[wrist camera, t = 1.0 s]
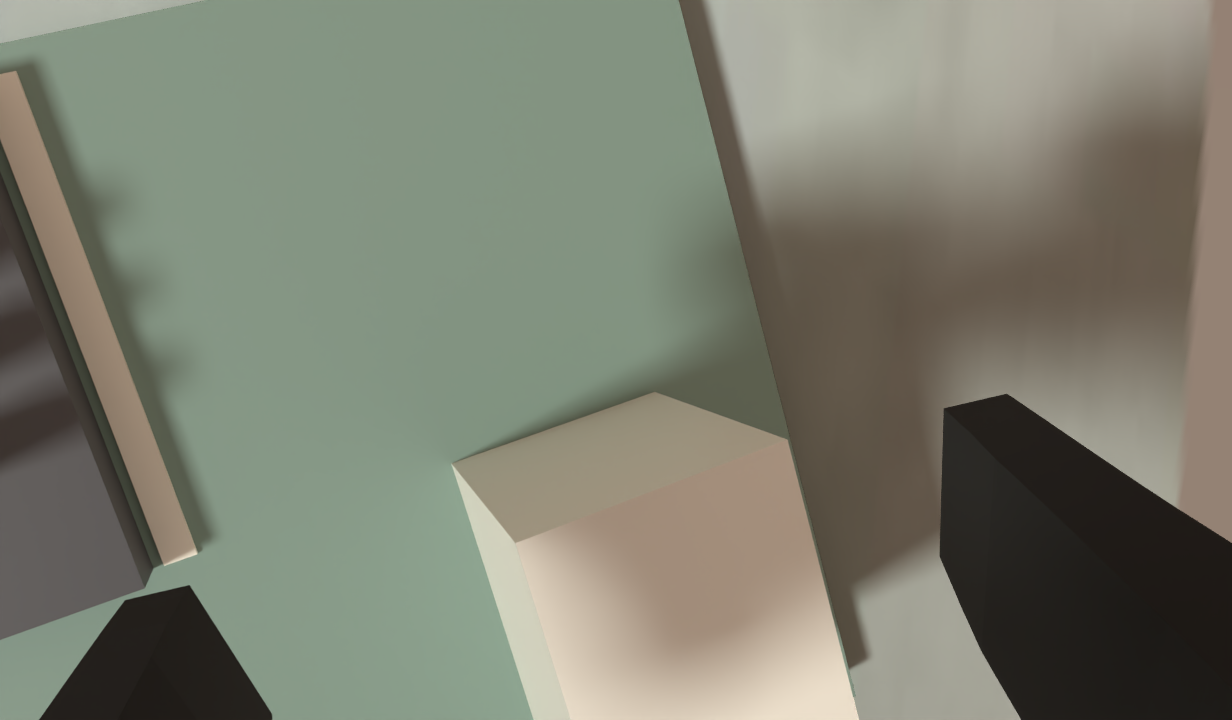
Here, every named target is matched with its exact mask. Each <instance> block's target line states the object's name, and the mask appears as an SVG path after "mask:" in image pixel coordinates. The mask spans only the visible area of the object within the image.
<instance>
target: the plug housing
mask: <svg viewBox="0 0 1232 720" xmlns="http://www.w3.org/2000/svg"><path fill="white" fill-rule="evenodd" d="M451 464H452V467H453V470H454V473H455V476H456V480H457V483H458V486H459V489H460V492H461V495H462V498H463V501H464V504H465V508H466V511H467V514H468V517H469V520H470V523H471V526H472V529H473V533H474V536H475V539H476V542H477V545H478V548H479V551H480V554H481V557H482V561H483V564H484V567H485V570H486V573H487V576H488V579H489V582H490V585H491V589H492V592H493V595H494V598H495V601H496V604H497V607H498V610H499V613H500V617H501V620H502V623H503V626H504V629H505V632H506V635H507V638H508V642H509V645H510V648H511V651H512V654H513V657H514V660H515V663H516V666H517V670H518V673H519V676H520V679H521V682H522V685H523V688H524V691H525V694H526V698H527V701H528V704H529V707H530V710H531V713H532V716H533V719H534V720H859V718H858V714H857V710H856V706H855V702H854V698H853V695H852V691H851V687H850V683H849V679H848V675H847V671H846V667H845V663H844V659H843V655H842V651H841V647H840V644H839V640H838V636H837V632H836V628H835V624H834V620H833V616H832V612H831V608H830V604H829V600H828V596H827V593H826V589H825V585H824V581H823V577H822V573H821V569H820V565H819V561H818V557H817V553H816V549H815V546H814V542H813V538H812V534H811V530H810V526H809V522H808V518H807V514H806V510H805V506H804V502H803V498H802V495H801V491H800V487H799V483H798V479H797V475H796V471H795V467H794V463H793V459H792V455H791V451H790V447H789V444H788V440H787V439H785V438H782V437H779V436H776V435H773V434H771V433H768V432H765V431H762V430H760V429H757V428H754V427H751V426H748V425H746V424H743V423H740V422H737V421H735V420H732V419H729V418H726V417H723V416H721V415H718V414H715V413H712V412H709V411H707V410H704V409H701V408H698V407H696V406H693V405H690V404H687V403H684V402H682V401H679V400H676V399H673V398H671V397H668V396H665V395H662V394H659V393H657V392H653V393H650V394H647V395H644V396H641V397H639V398H636V399H633V400H630V401H627V402H624V403H622V404H619V405H616V406H613V407H610V408H607V409H605V410H602V411H599V412H596V413H593V414H590V415H587V416H585V417H582V418H579V419H576V420H573V421H570V422H568V423H565V424H562V425H559V426H556V427H553V428H551V429H548V430H545V431H542V432H539V433H536V434H534V435H531V436H528V437H525V438H522V439H519V440H517V441H514V442H511V443H508V444H505V445H502V446H500V447H497V448H494V449H491V450H488V451H485V452H482V453H480V454H477V455H474V456H471V457H468V458H465V459H463V460H460V461H457V462H454V463H451Z"/></svg>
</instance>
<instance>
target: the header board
mask: <svg viewBox="0 0 1232 720" xmlns="http://www.w3.org/2000/svg"><path fill="white" fill-rule="evenodd" d="M653 392H657V393H659V394H662V395H665V396H668V397H671V398H673V399H676V400H679V401H682V402H684V403H687V404H690V405H693V406H696V407H698V408H701V409H704V410H707V411H709V412H712V413H715V414H718V415H721V416H723V417H726V418H729V419H732V420H735V421H737V422H740V423H743V424H746V425H748V426H751V427H754V428H757V429H760V430H762V431H765V432H768V433H771V434H773V435H776V436H779V437H782V438H785V439H787V440H788V444H789V447H790V451H791V455H792V459H793V463H794V467H795V471H796V475H797V479H798V483H799V487H800V491H801V495H802V498H803V502H804V506H805V510H806V514H807V518H808V522H809V526H810V530H811V534H812V538H813V542H814V546H815V549H816V553H817V557H818V561H819V565H820V569H821V573H822V577H823V581H824V585H825V589H826V593H827V596H828V600H829V604H830V608H831V612H832V616H833V620H834V624H835V628H836V632H837V636H838V640H839V644H840V647H841V651H842V655H843V659H844V663H845V667H846V671H847V675H848V679H849V683H850V687H851V691H852V695H853V697H855V696H856V695H855V691H854V687H853V683H852V679H851V676H850V672H849V668H848V664H847V660H846V656H845V652H844V648H843V644H842V640H841V636H840V632H839V628H838V624H837V620H836V617H835V613H834V609H833V605H832V601H831V597H830V593H829V589H828V585H827V581H826V577H825V573H824V569H823V565H822V562H821V558H820V554H819V550H818V546H817V542H816V538H815V534H814V530H813V526H812V522H811V518H810V514H809V510H808V507H807V503H806V499H805V495H804V491H803V487H802V483H801V479H800V475H799V471H798V467H797V463H796V459H795V455H794V451H793V448H792V444H791V440H790V436H789V432H788V428H787V424H786V420H785V416H784V412H783V408H782V404H781V400H780V396H779V393H778V389H777V385H776V381H775V377H774V373H773V369H772V365H771V361H770V357H769V353H768V349H767V345H766V341H765V338H764V334H763V330H762V326H761V322H760V318H759V314H758V310H757V306H756V302H755V298H754V294H753V290H752V286H751V283H750V279H749V275H748V271H747V267H746V263H745V259H744V255H743V251H742V247H741V243H740V239H739V235H738V231H737V227H736V224H735V220H734V216H733V212H732V208H731V204H730V200H729V196H728V192H727V188H726V184H725V180H724V176H723V172H722V169H721V165H720V161H719V157H718V153H717V149H716V145H715V141H714V137H713V133H712V129H711V125H710V121H709V117H708V114H707V110H706V106H705V102H704V98H703V94H702V90H701V86H700V82H699V78H698V74H697V70H696V66H695V62H694V58H693V55H692V51H691V47H690V43H689V39H688V35H687V31H686V27H685V23H684V19H683V15H682V11H681V7H680V3H679V0H205V1H200V2H196V3H191V4H186V5H182V6H177V7H172V8H167V9H163V10H158V11H153V12H148V13H144V14H139V15H134V16H129V17H125V18H120V19H115V20H110V21H106V22H101V23H96V24H91V25H87V26H82V27H77V28H72V29H68V30H63V31H58V32H53V33H49V34H44V35H39V36H34V37H30V38H25V39H20V40H15V41H11V42H6V43H1V44H0V720H39V719H40V718H41V716H42V715H43V713H44V712H45V711H46V709H47V708H48V706H49V705H50V703H51V702H52V701H53V699H54V698H55V696H56V695H57V694H58V692H59V691H60V689H61V688H62V686H63V685H64V684H65V682H66V681H67V679H68V678H69V677H70V675H71V674H72V672H73V671H74V669H75V668H76V667H77V665H78V664H79V662H80V661H81V660H82V658H83V657H84V655H85V654H86V652H87V651H88V650H89V648H90V647H91V646H92V644H93V643H94V641H95V640H96V639H97V637H98V636H99V634H100V633H101V632H102V630H103V629H104V627H105V626H106V625H107V623H108V622H109V621H110V619H111V618H112V617H113V615H114V614H115V613H116V611H117V610H118V609H119V607H120V606H121V605H122V603H123V602H124V601H125V600H127V599H132V598H136V597H140V596H144V595H149V594H153V593H157V592H162V591H166V590H170V589H174V588H179V587H183V586H187V585H190V586H191V588H192V590H193V591H194V593H195V594H196V596H197V597H198V599H199V600H200V602H201V604H202V605H203V607H204V608H205V610H206V611H207V613H208V615H209V616H210V618H211V619H212V621H213V622H214V624H215V625H216V627H217V629H218V630H219V632H220V633H221V635H222V636H223V638H224V640H225V641H226V643H227V644H228V646H229V647H230V649H231V650H232V652H233V654H234V655H235V657H236V658H237V660H238V661H239V663H240V665H241V666H242V668H243V669H244V671H245V672H246V674H247V675H248V677H249V679H250V680H251V682H252V683H253V685H254V686H255V688H256V690H257V691H258V693H259V694H260V696H261V697H262V699H263V700H264V702H265V704H266V705H267V707H268V708H269V710H270V711H271V713H272V720H534V719H533V716H532V713H531V710H530V707H529V704H528V701H527V698H526V694H525V691H524V688H523V685H522V682H521V679H520V676H519V673H518V670H517V666H516V663H515V660H514V657H513V654H512V651H511V648H510V645H509V642H508V638H507V635H506V632H505V629H504V626H503V623H502V620H501V617H500V613H499V610H498V607H497V604H496V601H495V598H494V595H493V592H492V589H491V585H490V582H489V579H488V576H487V573H486V570H485V567H484V564H483V561H482V557H481V554H480V551H479V548H478V545H477V542H476V539H475V536H474V533H473V529H472V526H471V523H470V520H469V517H468V514H467V511H466V508H465V504H464V501H463V498H462V495H461V492H460V489H459V486H458V483H457V480H456V476H455V473H454V470H453V467H452V464H451V463H454V462H457V461H460V460H463V459H465V458H468V457H471V456H474V455H477V454H480V453H482V452H485V451H488V450H491V449H494V448H497V447H500V446H502V445H505V444H508V443H511V442H514V441H517V440H519V439H522V438H525V437H528V436H531V435H534V434H536V433H539V432H542V431H545V430H548V429H551V428H553V427H556V426H559V425H562V424H565V423H568V422H570V421H573V420H576V419H579V418H582V417H585V416H587V415H590V414H593V413H596V412H599V411H602V410H605V409H607V408H610V407H613V406H616V405H619V404H622V403H624V402H627V401H630V400H633V399H636V398H639V397H641V396H644V395H647V394H650V393H653Z"/></svg>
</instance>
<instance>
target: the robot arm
mask: <svg viewBox="0 0 1232 720" xmlns="http://www.w3.org/2000/svg"><path fill="white" fill-rule="evenodd" d="M940 558H941V561H942V563H943V565H944V568H945V570H946V572H947V575H948V577H949V579H950V582H951V584H952V586H953V589H954V591H955V593H956V596H957V598H958V600H959V603H960V605H961V607H962V609H963V612H964V614H965V616H966V618H967V620H968V623H969V625H970V627H971V629H972V631H973V634H974V636H975V638H976V640H977V642H978V645H979V647H980V649H981V651H982V653H983V655H984V656H985V658H986V660H987V662H988V663H989V665H990V667H991V669H992V670H993V672H994V674H995V676H996V677H997V679H998V681H999V682H1000V684H1001V686H1002V687H1003V689H1004V691H1005V693H1006V694H1007V696H1008V698H1009V699H1010V701H1011V703H1012V705H1013V706H1014V708H1015V710H1016V711H1017V713H1018V715H1019V716H1020V718H1021V720H1232V543H1230V542H1229V541H1228V540H1226V539H1225V538H1223V537H1221V536H1220V535H1218V534H1217V533H1215V532H1214V531H1212V530H1210V529H1209V528H1207V527H1206V526H1204V525H1203V524H1201V523H1199V522H1198V521H1196V520H1195V519H1193V518H1191V517H1190V516H1188V515H1187V514H1185V513H1184V512H1182V511H1180V510H1179V509H1177V508H1176V507H1174V506H1173V505H1171V504H1169V503H1168V502H1166V501H1165V500H1163V499H1162V498H1160V497H1159V496H1157V495H1156V494H1154V493H1153V492H1151V491H1150V490H1148V489H1147V488H1145V487H1144V486H1142V485H1141V484H1139V483H1138V482H1136V481H1135V480H1133V479H1132V478H1130V477H1129V476H1127V475H1126V474H1124V473H1123V472H1121V471H1120V470H1118V469H1117V468H1115V467H1114V466H1112V465H1111V464H1109V463H1108V462H1106V461H1105V460H1104V459H1102V458H1101V457H1099V456H1098V455H1096V454H1095V453H1093V452H1092V451H1090V450H1089V449H1087V448H1086V447H1084V446H1083V445H1081V444H1080V443H1079V442H1077V441H1076V440H1074V439H1073V438H1071V437H1070V436H1068V435H1067V434H1065V433H1064V432H1062V431H1061V430H1060V429H1058V428H1057V427H1055V426H1054V425H1052V424H1051V423H1049V422H1048V421H1046V420H1045V419H1043V418H1042V417H1040V416H1039V415H1037V414H1036V413H1035V412H1033V411H1032V410H1030V409H1029V408H1027V407H1026V406H1024V405H1023V404H1021V403H1020V402H1018V401H1017V400H1015V399H1014V398H1012V397H1011V396H1009V395H1008V394H1004V395H1000V396H995V397H991V398H987V399H983V400H978V401H974V402H970V403H966V404H961V405H957V406H953V407H948V408H944V420H943V456H942V492H941V527H940ZM39 720H272V713H271V711H270V710H269V708H268V707H267V705H266V704H265V702H264V700H263V699H262V697H261V696H260V694H259V693H258V691H257V690H256V688H255V686H254V685H253V683H252V682H251V680H250V679H249V677H248V675H247V674H246V672H245V671H244V669H243V668H242V666H241V665H240V663H239V661H238V660H237V658H236V657H235V655H234V654H233V652H232V650H231V649H230V647H229V646H228V644H227V643H226V641H225V640H224V638H223V636H222V635H221V633H220V632H219V630H218V629H217V627H216V625H215V624H214V622H213V621H212V619H211V618H210V616H209V615H208V613H207V611H206V610H205V608H204V607H203V605H202V604H201V602H200V600H199V599H198V597H197V596H196V594H195V593H194V591H193V590H192V588H191V586H190V585H187V586H183V587H179V588H174V589H170V590H166V591H162V592H157V593H153V594H149V595H144V596H140V597H136V598H132V599H127V600H125V601H124V602H123V603H122V605H121V606H120V607H119V609H118V610H117V611H116V613H115V614H114V615H113V617H112V618H111V619H110V621H109V622H108V623H107V625H106V626H105V627H104V629H103V630H102V632H101V633H100V634H99V636H98V637H97V639H96V640H95V641H94V643H93V644H92V646H91V647H90V648H89V650H88V651H87V652H86V654H85V655H84V657H83V658H82V660H81V661H80V662H79V664H78V665H77V667H76V668H75V669H74V671H73V672H72V674H71V675H70V677H69V678H68V679H67V681H66V682H65V684H64V685H63V686H62V688H61V689H60V691H59V692H58V694H57V695H56V696H55V698H54V699H53V701H52V702H51V703H50V705H49V706H48V708H47V709H46V711H45V712H44V713H43V715H42V716H41V718H40V719H39Z"/></svg>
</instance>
